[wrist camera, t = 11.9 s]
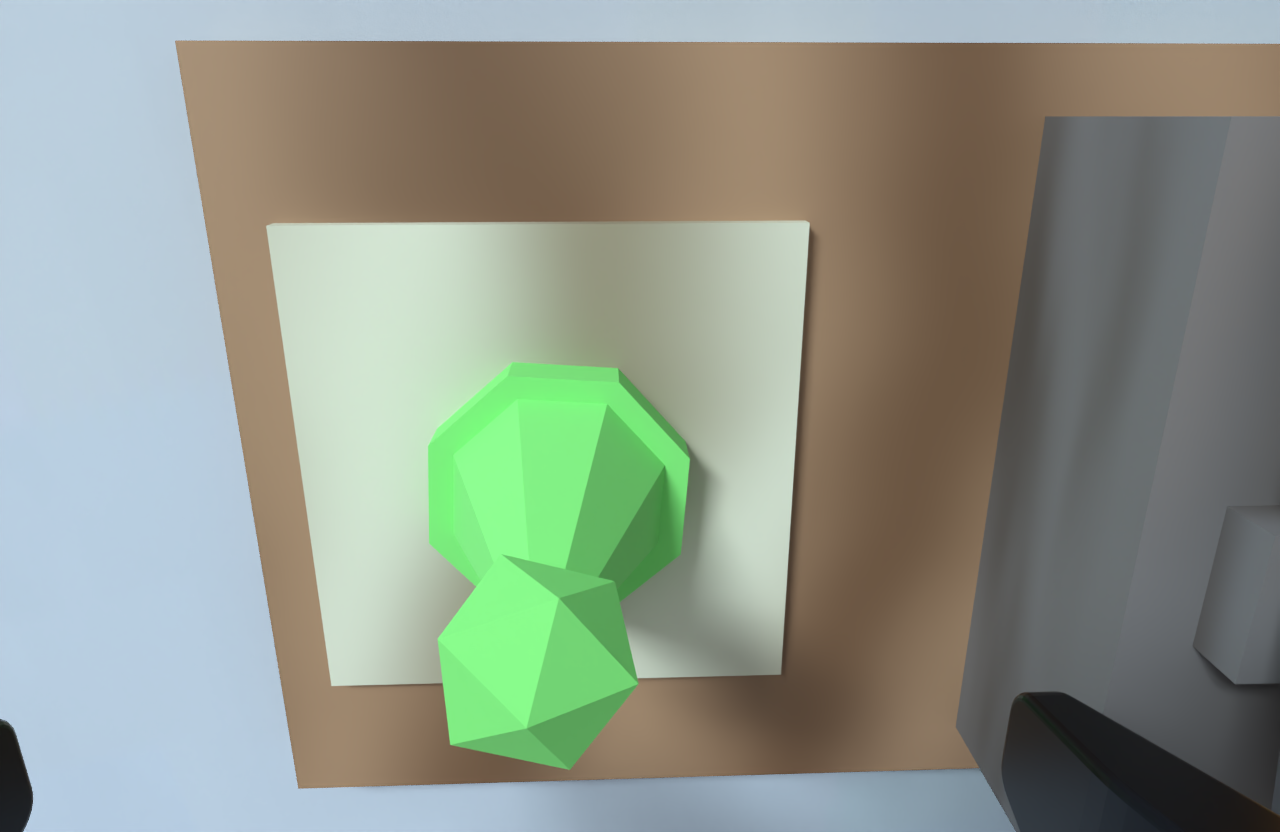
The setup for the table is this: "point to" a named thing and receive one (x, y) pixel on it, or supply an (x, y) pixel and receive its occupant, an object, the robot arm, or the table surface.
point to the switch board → (775, 380)
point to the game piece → (549, 552)
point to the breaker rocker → (1276, 791)
